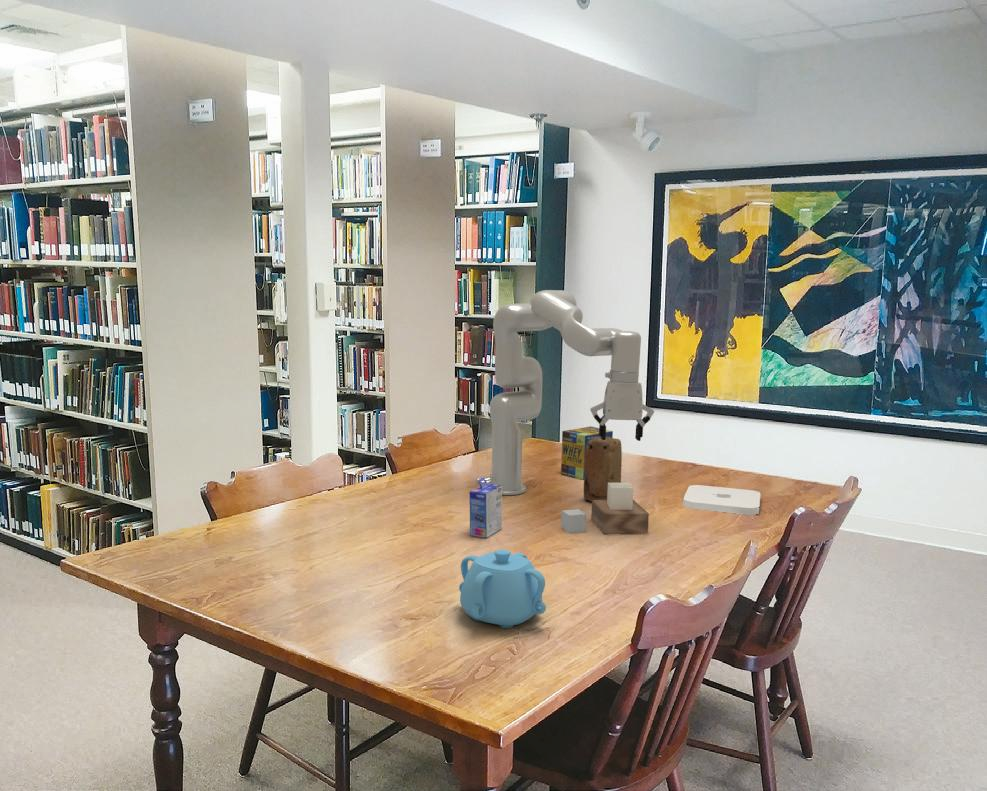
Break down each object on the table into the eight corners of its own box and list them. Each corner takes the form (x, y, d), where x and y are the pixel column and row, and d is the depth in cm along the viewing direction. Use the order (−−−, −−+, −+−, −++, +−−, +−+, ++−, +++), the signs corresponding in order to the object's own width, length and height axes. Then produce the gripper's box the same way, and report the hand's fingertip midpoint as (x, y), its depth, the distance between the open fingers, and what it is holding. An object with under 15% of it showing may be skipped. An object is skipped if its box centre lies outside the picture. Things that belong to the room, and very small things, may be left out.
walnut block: (604, 536, 219) (605, 514, 218) (591, 520, 233) (592, 500, 232) (647, 535, 221) (648, 513, 220) (632, 519, 235) (633, 499, 234)
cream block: (610, 509, 223) (611, 487, 222) (607, 503, 229) (607, 482, 228) (632, 509, 223) (633, 488, 222) (628, 503, 229) (629, 482, 228)
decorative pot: (463, 635, 156) (464, 566, 154) (457, 601, 172) (458, 538, 170) (547, 632, 158) (549, 565, 156) (534, 599, 174) (536, 537, 172)
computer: (758, 517, 239) (759, 508, 239) (681, 509, 247) (682, 500, 246) (760, 499, 260) (760, 491, 260) (689, 492, 267) (689, 484, 267)
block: (622, 502, 251) (625, 438, 248) (609, 507, 245) (612, 442, 242) (592, 496, 258) (594, 433, 255) (578, 501, 252) (581, 437, 249)
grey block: (568, 533, 220) (569, 515, 219) (561, 528, 225) (561, 510, 224) (585, 532, 221) (586, 514, 221) (577, 526, 226) (578, 509, 225)
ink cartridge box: (484, 525, 225) (485, 474, 223) (502, 528, 223) (503, 476, 221) (467, 535, 216) (468, 482, 214) (486, 538, 214) (488, 484, 212)
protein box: (560, 474, 286) (561, 430, 284) (589, 468, 296) (590, 426, 294) (582, 480, 278) (584, 435, 276) (611, 473, 289) (613, 430, 286)
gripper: (595, 378, 217) (591, 441, 219) (659, 380, 218) (655, 443, 221) (590, 374, 224) (586, 435, 227) (652, 376, 225) (648, 437, 228)
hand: (620, 439), depth 224 cm, fingers open, 9 cm apart
